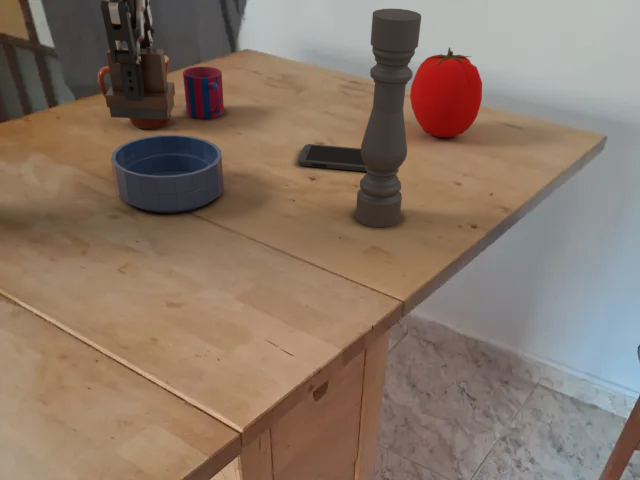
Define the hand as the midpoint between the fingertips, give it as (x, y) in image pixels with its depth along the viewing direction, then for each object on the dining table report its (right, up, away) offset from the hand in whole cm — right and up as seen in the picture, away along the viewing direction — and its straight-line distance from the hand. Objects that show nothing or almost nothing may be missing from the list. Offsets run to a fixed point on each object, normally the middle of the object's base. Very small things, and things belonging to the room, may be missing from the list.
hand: (140, 90), depth 80 cm
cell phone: (+25, +3, +30) cm, 39 cm away
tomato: (+42, +12, +41) cm, 60 cm away
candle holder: (+29, -10, +16) cm, 35 cm away
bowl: (-1, -5, +20) cm, 21 cm away
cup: (+1, +17, +44) cm, 47 cm away
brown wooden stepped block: (0, -2, +2) cm, 2 cm away
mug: (-10, +13, +39) cm, 43 cm away
